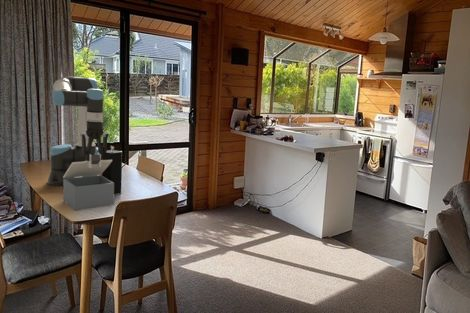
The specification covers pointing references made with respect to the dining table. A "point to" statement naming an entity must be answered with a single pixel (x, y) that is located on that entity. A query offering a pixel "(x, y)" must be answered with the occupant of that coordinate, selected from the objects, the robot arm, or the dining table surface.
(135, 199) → the dining table surface
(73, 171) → the lid
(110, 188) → the carton
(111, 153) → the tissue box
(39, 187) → the dining table surface
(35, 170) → the dining table surface
